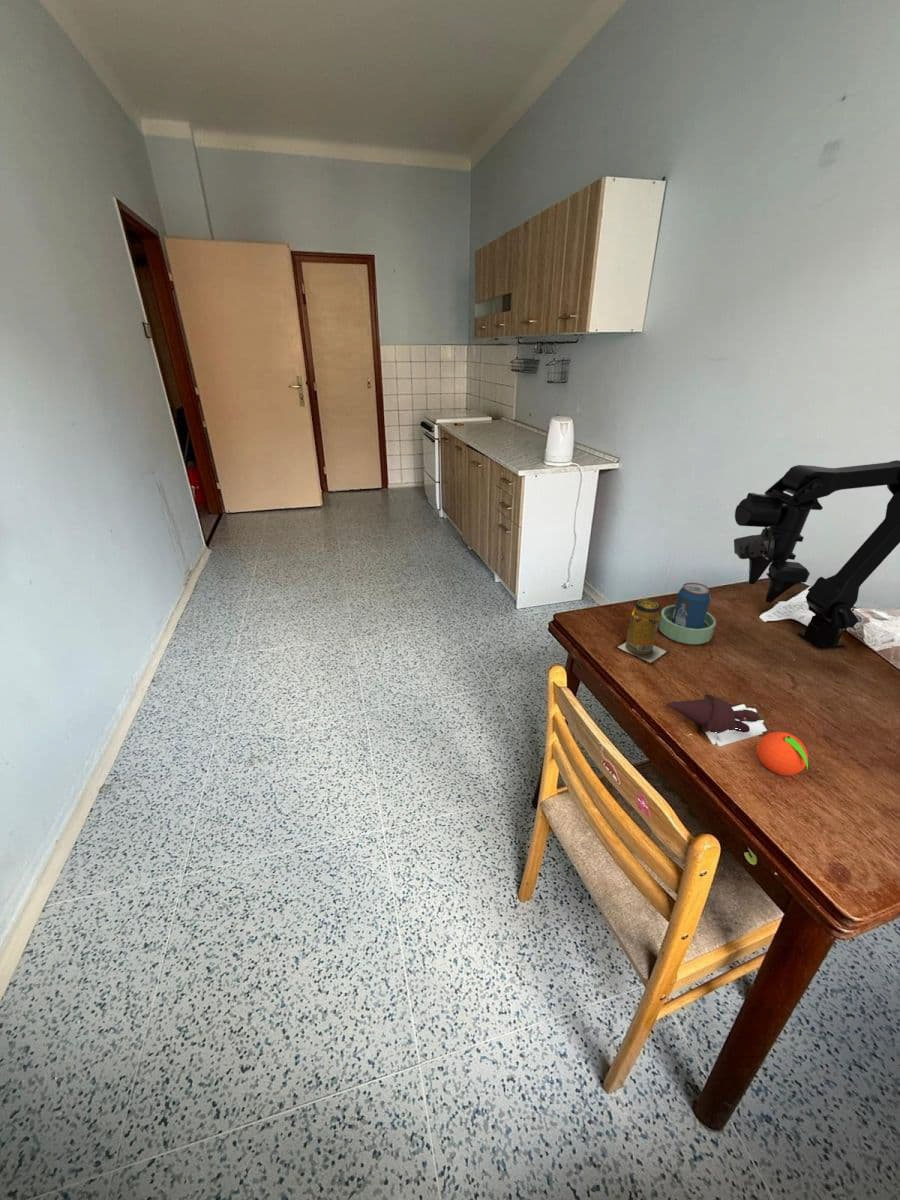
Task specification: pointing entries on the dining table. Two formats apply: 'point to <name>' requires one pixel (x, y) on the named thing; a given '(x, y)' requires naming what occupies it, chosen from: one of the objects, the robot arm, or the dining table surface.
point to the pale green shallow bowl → (685, 628)
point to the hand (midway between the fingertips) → (759, 592)
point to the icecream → (715, 714)
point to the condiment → (643, 631)
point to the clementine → (782, 753)
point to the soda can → (691, 605)
